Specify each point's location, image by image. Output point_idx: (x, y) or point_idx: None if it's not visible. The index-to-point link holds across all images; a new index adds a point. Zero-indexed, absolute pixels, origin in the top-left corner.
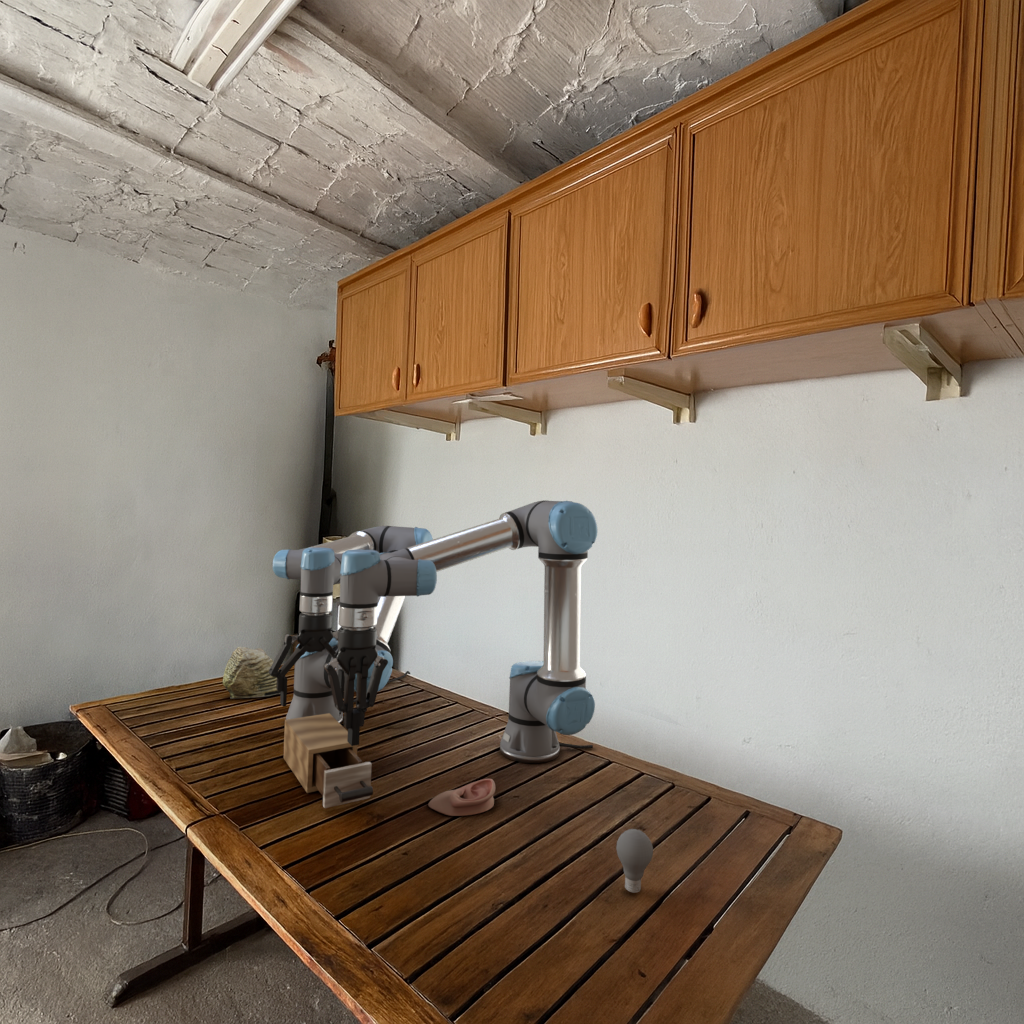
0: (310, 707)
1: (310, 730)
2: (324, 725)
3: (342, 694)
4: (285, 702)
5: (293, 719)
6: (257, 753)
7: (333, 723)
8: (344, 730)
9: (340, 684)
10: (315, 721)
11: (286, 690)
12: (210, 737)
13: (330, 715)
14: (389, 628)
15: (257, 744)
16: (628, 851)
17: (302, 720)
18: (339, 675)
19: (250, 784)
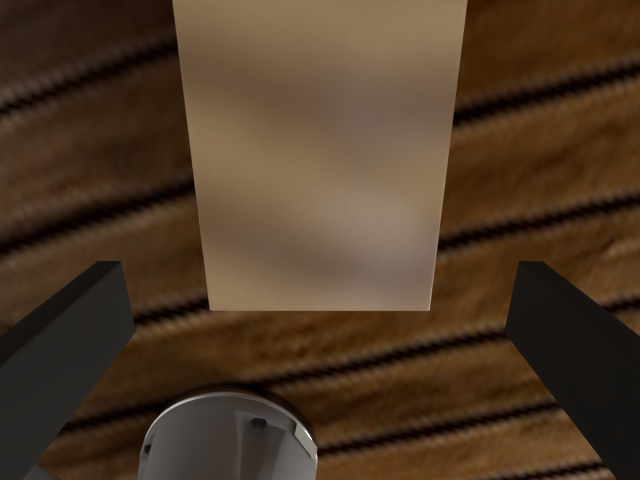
0: (248, 472)
1: (368, 107)
2: (276, 150)
3: (91, 275)
4: (540, 274)
5: (392, 299)
6: (450, 310)
7: (223, 158)
8: (186, 8)
9: (59, 338)
10: (304, 229)
11: (599, 328)
12: (518, 456)
13: (212, 279)
14: None
15: (427, 369)
16: None
17: (358, 270)
18: (12, 435)
19: (561, 80)
